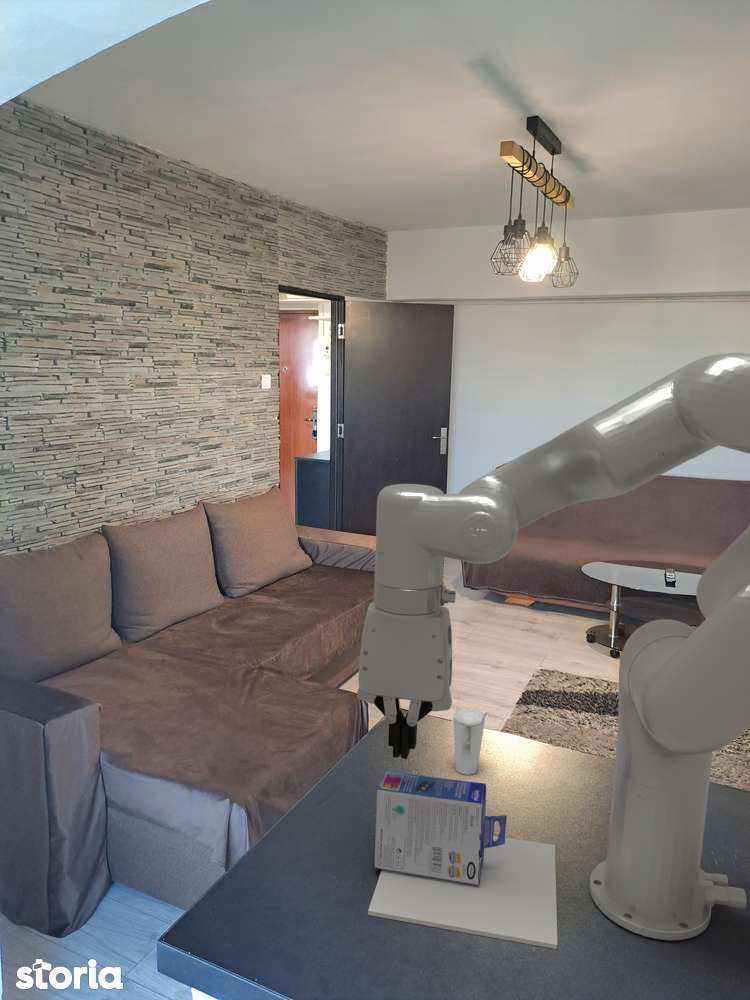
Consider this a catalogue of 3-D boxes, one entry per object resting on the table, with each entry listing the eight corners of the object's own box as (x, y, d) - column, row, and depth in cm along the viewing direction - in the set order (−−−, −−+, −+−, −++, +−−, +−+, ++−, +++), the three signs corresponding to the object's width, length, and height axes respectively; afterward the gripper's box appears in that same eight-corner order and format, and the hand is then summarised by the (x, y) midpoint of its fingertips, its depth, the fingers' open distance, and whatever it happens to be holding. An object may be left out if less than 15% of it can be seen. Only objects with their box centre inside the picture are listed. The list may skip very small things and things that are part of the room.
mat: (554, 848, 92) (554, 845, 92) (557, 949, 76) (557, 944, 76) (397, 824, 96) (397, 820, 96) (368, 914, 80) (368, 910, 80)
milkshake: (472, 783, 107) (476, 716, 105) (444, 768, 111) (447, 704, 109) (492, 772, 110) (496, 708, 108) (464, 758, 114) (468, 695, 112)
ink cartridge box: (383, 843, 92) (504, 864, 88) (372, 870, 87) (500, 893, 83) (386, 766, 91) (508, 784, 87) (375, 789, 85) (505, 809, 82)
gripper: (479, 593, 85) (470, 746, 88) (350, 582, 88) (346, 729, 91) (473, 613, 78) (464, 778, 81) (333, 600, 81) (329, 759, 84)
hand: (402, 752), depth 86 cm, fingers closed
